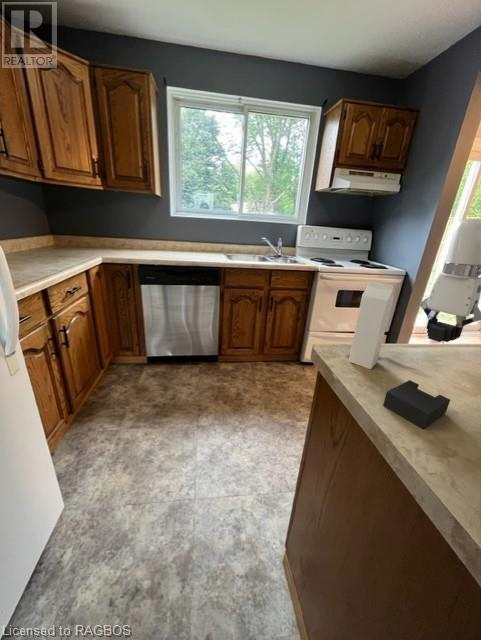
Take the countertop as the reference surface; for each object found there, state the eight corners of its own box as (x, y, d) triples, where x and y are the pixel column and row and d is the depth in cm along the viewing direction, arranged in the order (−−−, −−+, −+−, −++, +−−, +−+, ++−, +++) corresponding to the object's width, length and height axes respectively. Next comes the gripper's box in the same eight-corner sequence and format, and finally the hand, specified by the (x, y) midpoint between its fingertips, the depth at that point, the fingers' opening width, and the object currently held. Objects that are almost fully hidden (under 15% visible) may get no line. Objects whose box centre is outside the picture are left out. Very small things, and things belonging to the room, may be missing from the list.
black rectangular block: (435, 332, 79) (438, 321, 78) (455, 338, 75) (459, 326, 74) (423, 337, 75) (427, 325, 74) (444, 343, 71) (447, 331, 70)
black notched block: (405, 393, 61) (409, 379, 60) (445, 413, 55) (450, 399, 54) (382, 405, 57) (386, 391, 56) (423, 429, 50) (428, 414, 49)
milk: (370, 369, 71) (391, 287, 63) (347, 361, 74) (364, 282, 67) (377, 361, 75) (397, 283, 67) (355, 354, 79) (371, 279, 71)
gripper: (509, 274, 65) (484, 344, 71) (431, 265, 78) (416, 324, 84) (498, 277, 61) (473, 350, 67) (418, 266, 74) (403, 328, 80)
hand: (441, 335), depth 75 cm, fingers closed on black rectangular block, 5 cm apart
